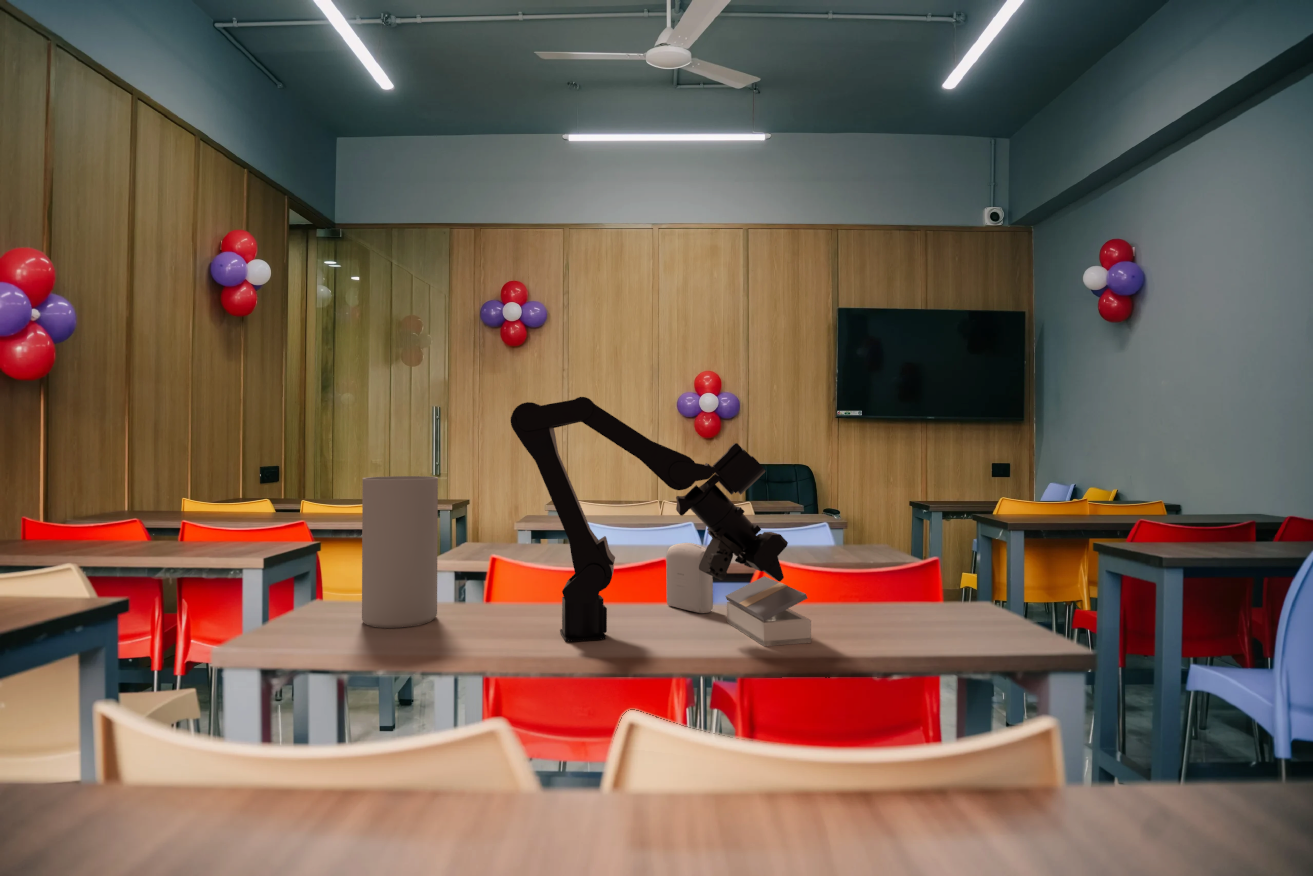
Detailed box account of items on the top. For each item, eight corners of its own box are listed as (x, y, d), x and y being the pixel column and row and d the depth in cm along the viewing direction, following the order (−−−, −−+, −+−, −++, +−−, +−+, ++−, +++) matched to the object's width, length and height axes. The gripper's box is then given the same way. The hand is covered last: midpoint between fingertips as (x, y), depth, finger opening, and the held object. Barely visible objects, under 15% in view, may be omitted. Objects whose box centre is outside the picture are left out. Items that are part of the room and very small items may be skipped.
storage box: (764, 646, 117) (764, 623, 117) (726, 622, 133) (726, 601, 133) (811, 642, 119) (811, 619, 119) (769, 619, 135) (769, 599, 135)
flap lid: (764, 621, 117) (762, 615, 117) (726, 600, 133) (725, 595, 133) (807, 598, 119) (805, 593, 119) (766, 580, 135) (764, 575, 135)
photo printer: (663, 605, 146) (663, 541, 146) (679, 602, 149) (680, 539, 149) (699, 615, 138) (699, 547, 138) (716, 612, 141) (716, 545, 141)
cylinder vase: (390, 610, 141) (391, 475, 141) (450, 614, 138) (451, 476, 138) (346, 626, 129) (346, 478, 129) (410, 631, 126) (411, 480, 126)
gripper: (669, 542, 131) (728, 603, 134) (705, 559, 113) (772, 629, 116) (712, 496, 133) (770, 557, 136) (754, 505, 115) (819, 575, 118)
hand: (781, 579), depth 127 cm, fingers closed
